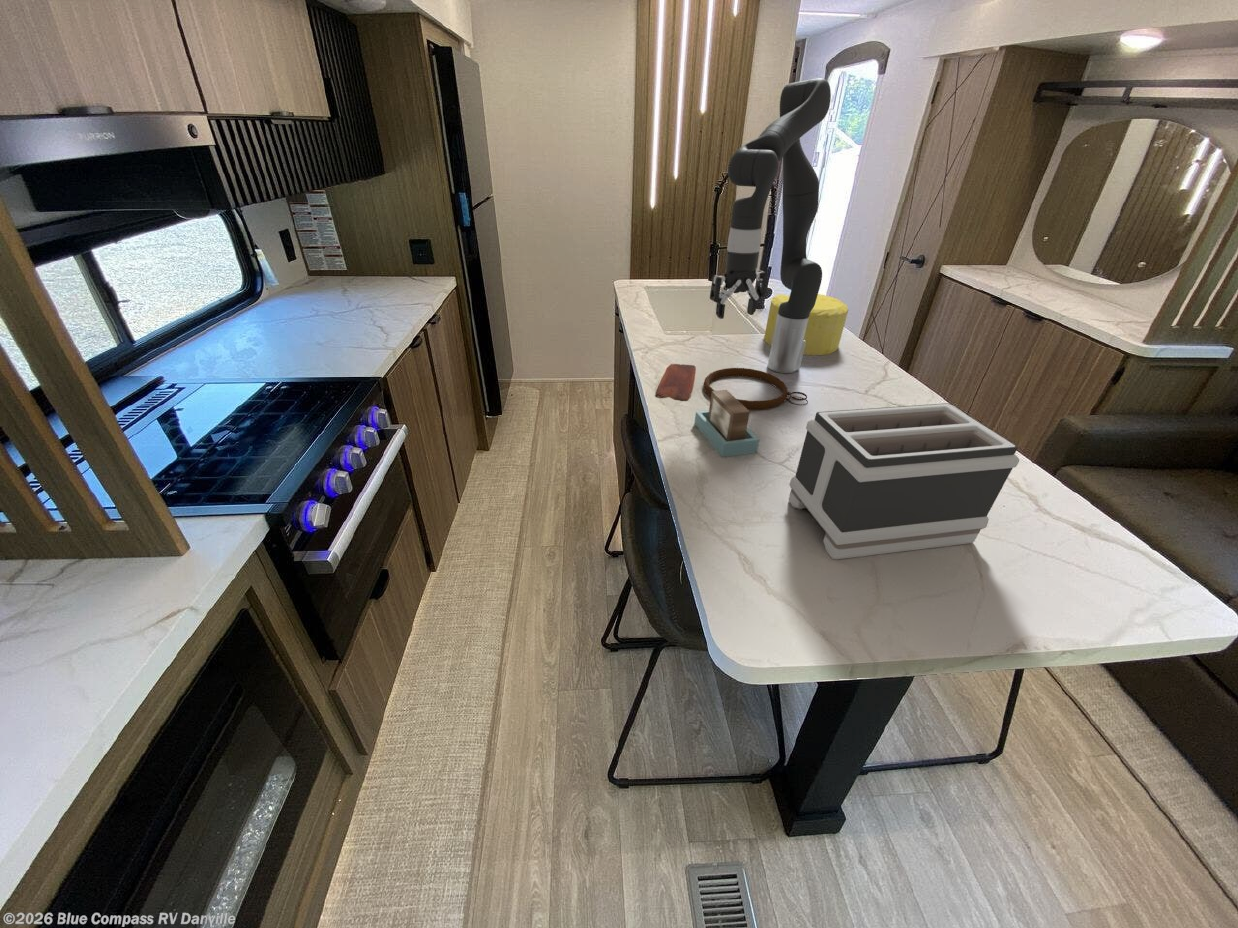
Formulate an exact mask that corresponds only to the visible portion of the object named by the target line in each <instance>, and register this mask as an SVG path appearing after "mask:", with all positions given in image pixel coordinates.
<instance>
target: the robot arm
mask: <svg viewBox="0 0 1238 928" xmlns="http://www.w3.org/2000/svg"><path fill="white" fill-rule="evenodd" d="M831 96H832V91H831V86H830V83H829V82H828V80H827V79H825V78H821V77H819V78H818V77H817V78H812V79H811V78H810V79H805V80H801V81H795V82H790V83H787V84H786V85H785V86H784V87H783V89H782V91H781V94H780V98H779V99H780V100H779V118H777V119H776V120H774V121H772V122H771V123H770V124H769V125H768V126H767V127H765V129H764V130H763V131H762V132H761V133H760V134H759V136H758V137H756V138H754V139H752V140H750V141H749V142H747V143H745V144H744V145H742V146H740V147H739V148H737V150H736V151H735V152H734V153H733V154H732V156H731V158H730V160H729V163H728V167H727V174H728V175H727V176H728V179H729V180H730V182H731V183H732V184H733V185H735V186H738V187H750V188H751V187H752V188H754V187H755V188H754V192H753V193H752V194H751V196H748V197H743V198H739V199H736V200H735V201H734V202H733V205H732V210H731V211H732V212H731V220H730V229H729V234H728V240H727V246H726V247H727V249H726V258H725V266H724V267H725V273H724V275H717V274H714V275H713V276H712V277H711V278H712V279H711V286H710V294H709V300H711V301H712V302H714V303H716V308H715V315H716V316H717V318H719V319H720V320H721V319H725V318H724V317H725V310H726V304H725V303H726V301H728V299H729V298H730V297H731V296H732V295H733V294H738V293H747V295H748V297H749V298H748V301H747V308H746V312H747V313H746V314H748V315H749V316H753V315H754V314H755V313H756V310H757V304H758V300H759V299H760V298H764V297H765V296H766V293H767V291H766V290H767V281H768V280H767V279H768V272H766V271H763V270H762V269H760V270H758V271H756V270H757V269H758V266H759V265H758V262H759V256H760V251H761V250H760V249H761V243H762V226H763V218H764V212H765V209H766V208H765V207H766V205H767V204H766V203H767V200H768V197H769V195H770V193H771V190H772V187H773V184H774V183H775V180H776V177H777V174H778V171H779V162H780V161H782V249H781V250H782V251H781V262H780V276H779V277H780V281H781V283H782V285H783V286H784V288H786V289H787V290H789V291H790V294H789V296H790V297H789V300H788V302H783V303H781V304H780V306H779V310H778V315H777V320H776V326H775V331H774V336H773V341H772V346H771V345H770V346H771V347H770V352H769V356H768V357H769V358H768V362H767V368H768V369H769V370H771V371H773V372H776V373H781V374H791V373H792V374H793V373H796V371H800V369H801V365H802V360H803V356H804V354H803V353H804V349H805V344H806V341H805V340H804V337H805V332H806V328H807V323H808V319H809V315H810V312H811V310H812V309H813V307H814V305H815V302H816V299H817V296H818V294H819V292H820V289H821V285H822V280H823V270H822V266H821V265H820V264H819V263H817V262H815V261H813V260H811V259H808V258H807V239H808V234H809V231H810V229H811V227H812V225H813V223H814V221H815V218H816V216H817V213H818V208H819V201H820V199H819V197H820V196H819V194H820V181H819V177H818V175H817V173H816V170H815V169H814V167H813V166H812V164H811V162H810V161H809V159H808V157H807V156H806V154H805V152H804V149H803V147H802V144H801V138H802V137H803V136H804V135H805V134H807V133H808V132H810V131H811V130H812V129H813V128H815V127H816V126H817V125H819V124H820V123H821V122H823V121H824V119H825V118H826V116H827V114H828V112H829V110H830V105H831V101H832V100H831V99H832V97H831ZM755 280H756V288H755V286H754V285H753V284H754V282H755ZM723 284H724V285H723ZM721 286H722V288H721Z"/></svg>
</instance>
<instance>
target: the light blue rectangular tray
mask: <svg viewBox="0 0 1238 928" xmlns="http://www.w3.org/2000/svg"><path fill="white" fill-rule="evenodd" d="M708 414H709V409H708V410H699V411H698V410H697V411H695V415H694V416H695V417H694V425H695V426H696V427H697V429H698V430H699V432H701V433H702V435H703V436H704V437H705V438H706V439H707V440H708V442H709V443H710V445H711V446H712V447H713V448H714V449H715V451H716V452H717V453H718V454H719V456H721V458H726V457H733V456H734V457H735V456H740V455H746V454H747V455H748V454H754V453H757V452H758V447H759V444H760V443H759V442H760V439H759V437H758V436H756V434H754V433H753V431H751V430H750V429H749V427H747V430H746V435H745V439H742V440H734V441H727V442H726V441H725V439H724V438H723V437H722V436H721V435H720V434H719V433H718V432H717V430H716V429H715V428H714V427H713V426H712V425H711V424H710V422H709V421H708Z"/></svg>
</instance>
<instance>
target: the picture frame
mask: <svg viewBox="0 0 1238 928" xmlns="http://www.w3.org/2000/svg"><path fill="white" fill-rule="evenodd" d="M737 399H738V398H736V397H735V396H734V395H733V394H732V393H731V392H730V391H729V390H728V389H720V390H715V391H712V393H711V398H710V400H709V401H710V402H709V409H708V410H709V414H708V421H709V422H710V424H711V425H712V426H713V427H714V428H715V429H716V430H717V432H718V433H719V434H720V435H721V436H722V437H723V438H724V439H725V441H726V442H727V441H734V440H742V439H745V435H746V430H747V428H748V423H749V419H750V412H751V410H748V409H747V408H746V407H744V406H743V405H742V404H741V403H740V402H739V401H738V400H737Z"/></svg>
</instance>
